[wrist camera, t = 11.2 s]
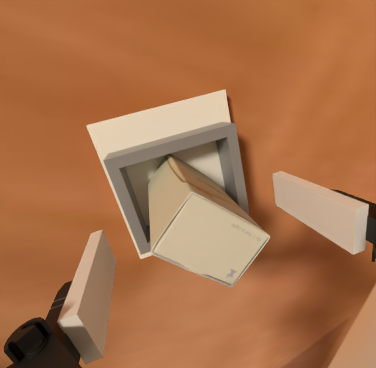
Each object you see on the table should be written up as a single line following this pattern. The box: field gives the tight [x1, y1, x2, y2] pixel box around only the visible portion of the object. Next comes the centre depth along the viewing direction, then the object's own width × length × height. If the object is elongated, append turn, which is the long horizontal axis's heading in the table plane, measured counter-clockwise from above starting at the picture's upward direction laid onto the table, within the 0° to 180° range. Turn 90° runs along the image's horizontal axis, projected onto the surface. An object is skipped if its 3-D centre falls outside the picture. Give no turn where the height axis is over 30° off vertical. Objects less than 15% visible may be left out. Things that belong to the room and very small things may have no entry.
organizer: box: [86, 90, 250, 259], centre depth 22 cm, size 14×16×5 cm
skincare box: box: [148, 153, 270, 287], centre depth 18 cm, size 6×4×12 cm
